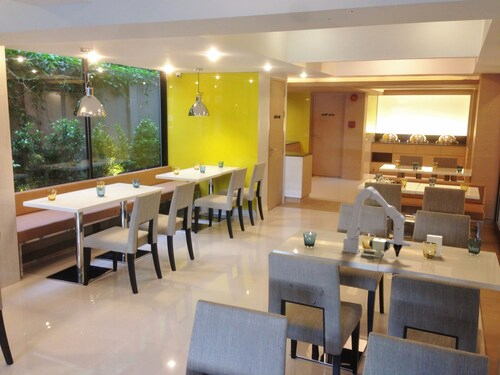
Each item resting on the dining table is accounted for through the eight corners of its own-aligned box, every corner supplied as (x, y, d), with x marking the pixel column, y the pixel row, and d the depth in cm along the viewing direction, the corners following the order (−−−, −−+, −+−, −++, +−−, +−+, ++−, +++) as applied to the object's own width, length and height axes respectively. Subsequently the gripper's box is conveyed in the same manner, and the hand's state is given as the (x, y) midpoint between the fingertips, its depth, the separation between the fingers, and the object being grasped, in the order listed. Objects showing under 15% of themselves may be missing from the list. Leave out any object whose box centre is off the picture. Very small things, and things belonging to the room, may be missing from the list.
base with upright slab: (441, 253, 290) (442, 235, 288) (440, 257, 282) (442, 238, 280) (426, 251, 294) (427, 233, 292) (425, 255, 286) (426, 236, 284)
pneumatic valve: (386, 259, 275) (388, 240, 273) (368, 256, 282) (369, 237, 280) (389, 257, 280) (391, 238, 278) (371, 254, 286) (372, 235, 285)
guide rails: (360, 256, 280) (360, 254, 280) (363, 252, 290) (363, 249, 290) (373, 258, 277) (373, 256, 277) (376, 253, 287) (376, 251, 287)
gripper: (385, 234, 273) (384, 256, 276) (410, 237, 267) (408, 259, 270) (387, 232, 280) (385, 253, 282) (411, 235, 274) (410, 256, 276)
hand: (397, 256), depth 276 cm, fingers closed
